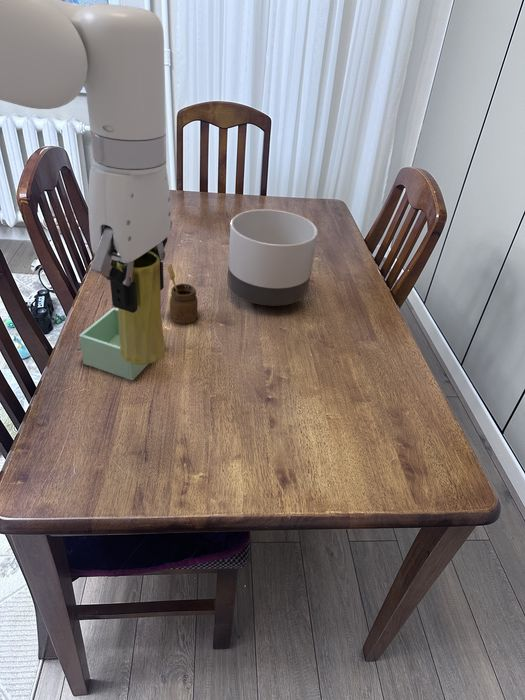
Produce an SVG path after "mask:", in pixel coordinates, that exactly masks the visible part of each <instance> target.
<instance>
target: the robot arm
mask: <svg viewBox="0 0 525 700" xmlns="http://www.w3.org/2000/svg"><path fill="white" fill-rule="evenodd" d="M164 35H165V33H164V26H163V24H162V21H161V19H160V18H159V16H158V15H157V14H156V13H155V12H153V11H151V10H148V9H146V8H143V7H142V8H141V7H136V6H129V5H120V4H108V3H95V4H89V5H85V4H79V3H75V2H69V1H64V0H0V101H3V102H6V103H10V104H13V105H17V106H21V107H25V108H29V109H37V110H52V109H58V108H61V107H64V106H66V105H68V104H69V103H71V102H72V101H74V100H75V99H76V98H77V96H79V94H80V93H81V91H82V90H83V89H84V90H85V94H86V103H87V112H88V121H89V132H90V140H91V141H90V142H91V150H92V160H93V165H92V166H91V167H90V168H89V177H88V189H87V190H88V194H87V195H88V197H87V200H88V201H87V205H88V206H87V208H88V226H89V227H88V228H89V239H90V241H89V242H90V246H91V247H90V248H91V251H92V253H93V255H94V257H93V260H92V263H91V267H90V268H91V270H92V271H93V272H95V273H97V274H100V275H101V276H103V277H104V278H105V279H106V281H109V282H110V292H111V301H112V306H113V308H117V309H118V308H120V309H123V310H126V311H129V312H132V313H134V312H136V311H137V295H136V283H134V282H132V276H133V268H134V260H135V259H137V258H139V257H140V256H142V255H143V254H145V253H146V252H148V251H152V252H154V253H155V254H156V255H157V256H158V257H159V260H160V292H161V291H163V289H164V288H165V286H164V285H165V283H164V262H163V261H165V259H166V251H165V248H166V245H167V243H168V236H169V234H170V232H171V230H172V227H173V221H172V220H171V218H172V217H171V194H170V185H169V184H170V183H169V175H168V169H167V125H166V124H167V122H166V121H167V120H166V119H167V118H166V84H165V83H166V81H165V80H166V77H165V75H166V74H165V37H164ZM118 253H119V254H118ZM117 261H118V262H121V263H124V270H123V272H122V271H120V270H119V269H117Z"/></svg>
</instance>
